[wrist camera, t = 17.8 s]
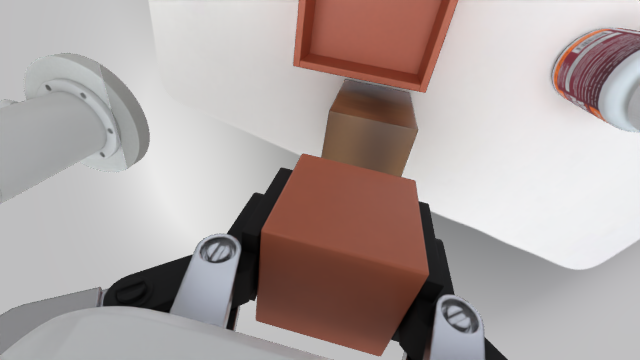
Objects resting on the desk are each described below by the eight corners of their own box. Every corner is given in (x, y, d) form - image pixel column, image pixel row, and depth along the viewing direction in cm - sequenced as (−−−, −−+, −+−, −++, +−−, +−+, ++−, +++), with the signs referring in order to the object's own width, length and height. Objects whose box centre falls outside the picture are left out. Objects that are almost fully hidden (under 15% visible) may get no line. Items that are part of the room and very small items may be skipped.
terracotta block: (290, 233, 14) (254, 321, 10) (302, 152, 11) (260, 229, 8) (382, 258, 13) (380, 357, 10) (416, 179, 11) (430, 274, 7)
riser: (333, 138, 35) (316, 183, 26) (345, 79, 31) (329, 110, 23) (391, 150, 34) (392, 200, 26) (410, 92, 30) (418, 129, 22)
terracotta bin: (304, 56, 30) (292, 66, 27) (322, -101, 24) (309, -119, 20) (420, 80, 29) (425, 93, 26) (473, -78, 23) (491, -92, 19)
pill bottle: (539, 98, 28) (614, 150, 19) (565, 27, 25) (672, 47, 16) (613, 99, 27) (732, 156, 18) (651, 25, 24) (822, 46, 14)
